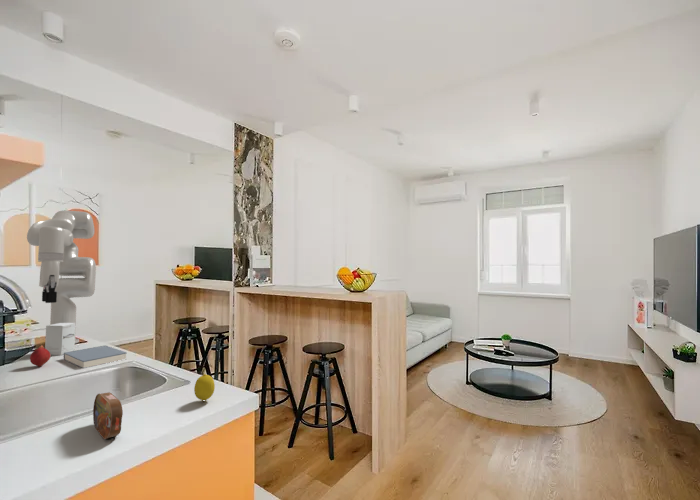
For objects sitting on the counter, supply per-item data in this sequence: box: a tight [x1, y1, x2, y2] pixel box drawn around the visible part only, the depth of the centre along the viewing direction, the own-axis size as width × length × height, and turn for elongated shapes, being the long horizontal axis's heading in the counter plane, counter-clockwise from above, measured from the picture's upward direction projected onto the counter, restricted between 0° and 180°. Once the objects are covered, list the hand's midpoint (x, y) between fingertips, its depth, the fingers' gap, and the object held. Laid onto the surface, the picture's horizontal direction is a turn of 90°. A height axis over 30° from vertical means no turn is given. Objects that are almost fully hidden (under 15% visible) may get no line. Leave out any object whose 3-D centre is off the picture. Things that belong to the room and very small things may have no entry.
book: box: [63, 345, 127, 369], centre depth 143 cm, size 20×15×3 cm
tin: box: [92, 391, 124, 440], centre depth 84 cm, size 15×3×8 cm, turn 48°
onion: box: [29, 345, 52, 368], centre depth 132 cm, size 6×6×8 cm
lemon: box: [194, 373, 216, 401], centre depth 102 cm, size 6×6×8 cm
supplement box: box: [44, 322, 77, 356], centre depth 151 cm, size 7×7×13 cm
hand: (49, 301), depth 134 cm, fingers open, 9 cm apart
